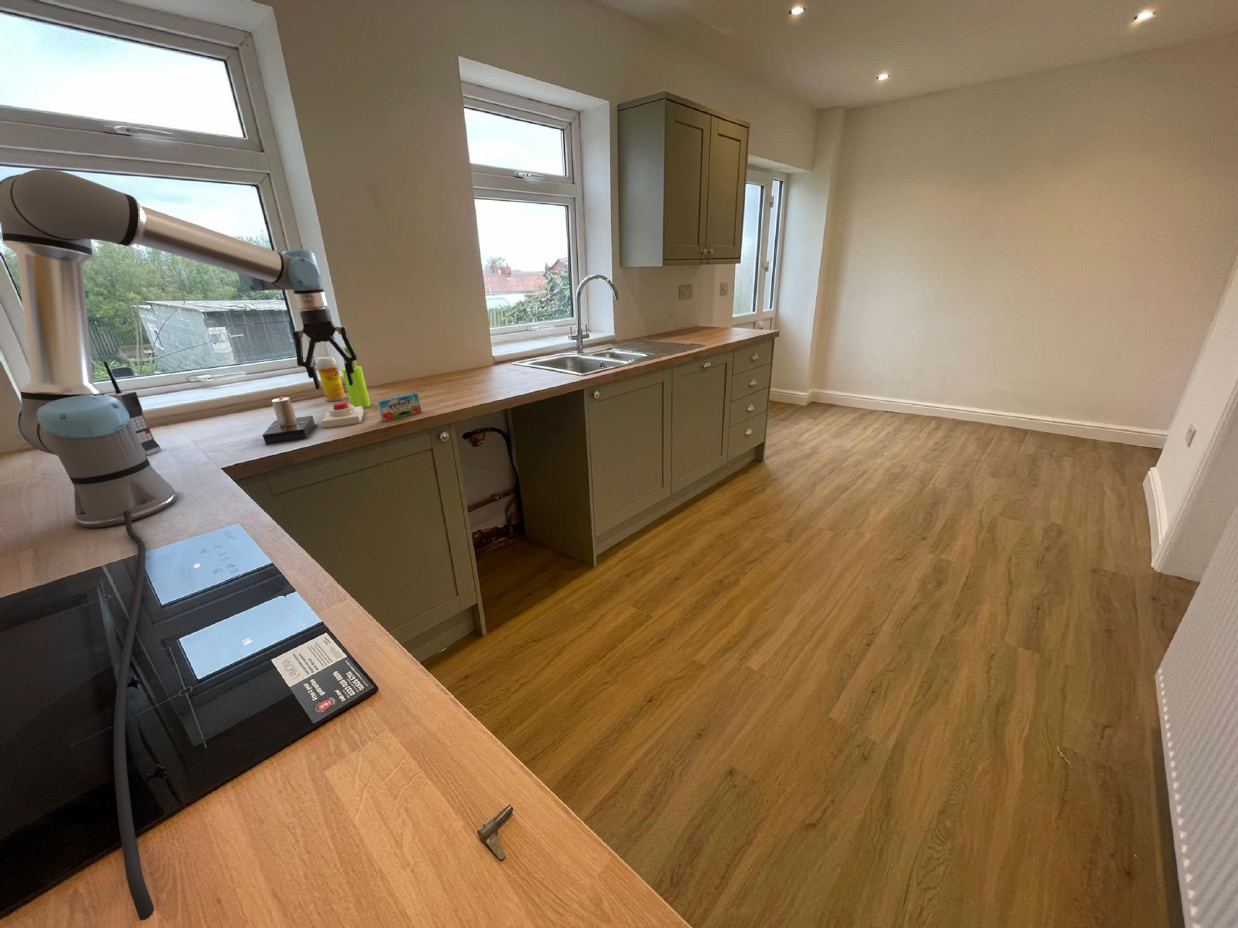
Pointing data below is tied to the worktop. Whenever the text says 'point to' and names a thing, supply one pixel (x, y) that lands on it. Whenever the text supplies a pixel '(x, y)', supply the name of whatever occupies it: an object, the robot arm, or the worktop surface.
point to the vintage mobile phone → (135, 416)
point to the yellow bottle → (330, 378)
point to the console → (289, 431)
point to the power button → (340, 405)
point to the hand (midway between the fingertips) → (335, 386)
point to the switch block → (343, 416)
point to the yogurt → (399, 406)
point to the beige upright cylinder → (284, 411)
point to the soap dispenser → (356, 385)
